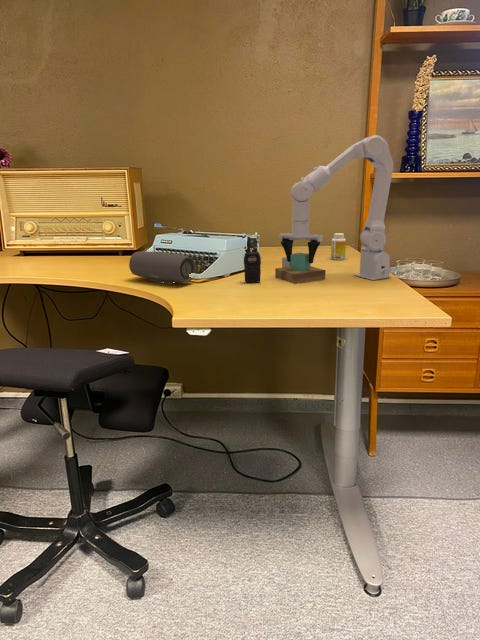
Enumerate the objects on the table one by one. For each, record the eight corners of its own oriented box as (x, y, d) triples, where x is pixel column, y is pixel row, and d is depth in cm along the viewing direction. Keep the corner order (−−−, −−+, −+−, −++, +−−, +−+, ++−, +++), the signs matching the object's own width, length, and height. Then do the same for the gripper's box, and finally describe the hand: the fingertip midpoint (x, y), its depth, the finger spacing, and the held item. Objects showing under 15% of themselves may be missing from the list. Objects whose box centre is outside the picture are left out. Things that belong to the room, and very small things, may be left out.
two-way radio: (244, 283, 153) (243, 237, 148) (244, 280, 157) (243, 235, 153) (261, 283, 153) (260, 236, 148) (260, 280, 157) (260, 234, 153)
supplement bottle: (347, 259, 190) (349, 233, 187) (339, 260, 187) (340, 234, 184) (337, 257, 195) (338, 232, 191) (328, 259, 191) (328, 233, 188)
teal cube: (310, 268, 159) (310, 253, 157) (304, 271, 155) (304, 255, 153) (296, 267, 161) (296, 252, 160) (290, 269, 157) (290, 255, 156)
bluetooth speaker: (198, 282, 156) (196, 252, 153) (179, 288, 149) (177, 257, 146) (148, 276, 168) (146, 248, 166) (129, 281, 161) (126, 252, 158)
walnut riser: (325, 279, 156) (325, 270, 155) (295, 283, 151) (295, 274, 150) (304, 273, 166) (304, 264, 165) (275, 277, 161) (275, 268, 160)
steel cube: (301, 272, 169) (301, 258, 167) (289, 273, 166) (289, 259, 165) (293, 269, 173) (293, 256, 171) (282, 271, 171) (282, 257, 169)
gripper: (326, 220, 153) (325, 261, 157) (285, 219, 160) (285, 258, 164) (318, 222, 147) (317, 265, 151) (276, 221, 154) (276, 262, 158)
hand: (300, 262), depth 157 cm, fingers open, 7 cm apart
